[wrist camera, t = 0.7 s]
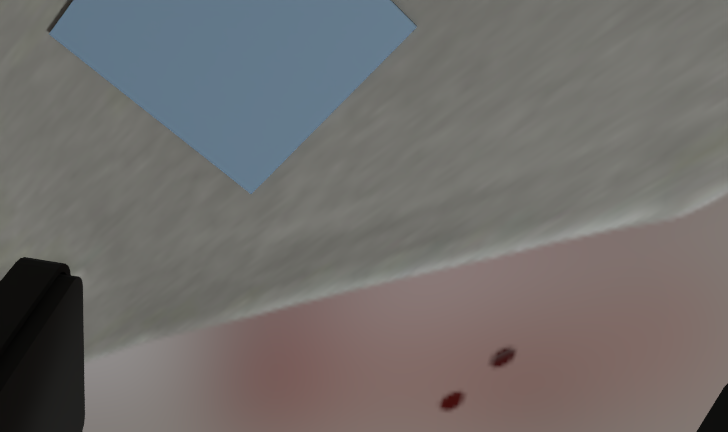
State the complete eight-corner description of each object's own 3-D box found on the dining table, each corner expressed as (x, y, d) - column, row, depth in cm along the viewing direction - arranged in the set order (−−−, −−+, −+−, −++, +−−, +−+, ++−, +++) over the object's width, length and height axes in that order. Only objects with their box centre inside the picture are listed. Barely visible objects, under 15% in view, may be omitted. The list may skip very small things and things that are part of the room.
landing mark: (207, -184, 31) (206, -185, 31) (416, 26, 36) (416, 27, 36) (50, 33, 37) (48, 34, 36) (251, 192, 41) (251, 193, 41)
